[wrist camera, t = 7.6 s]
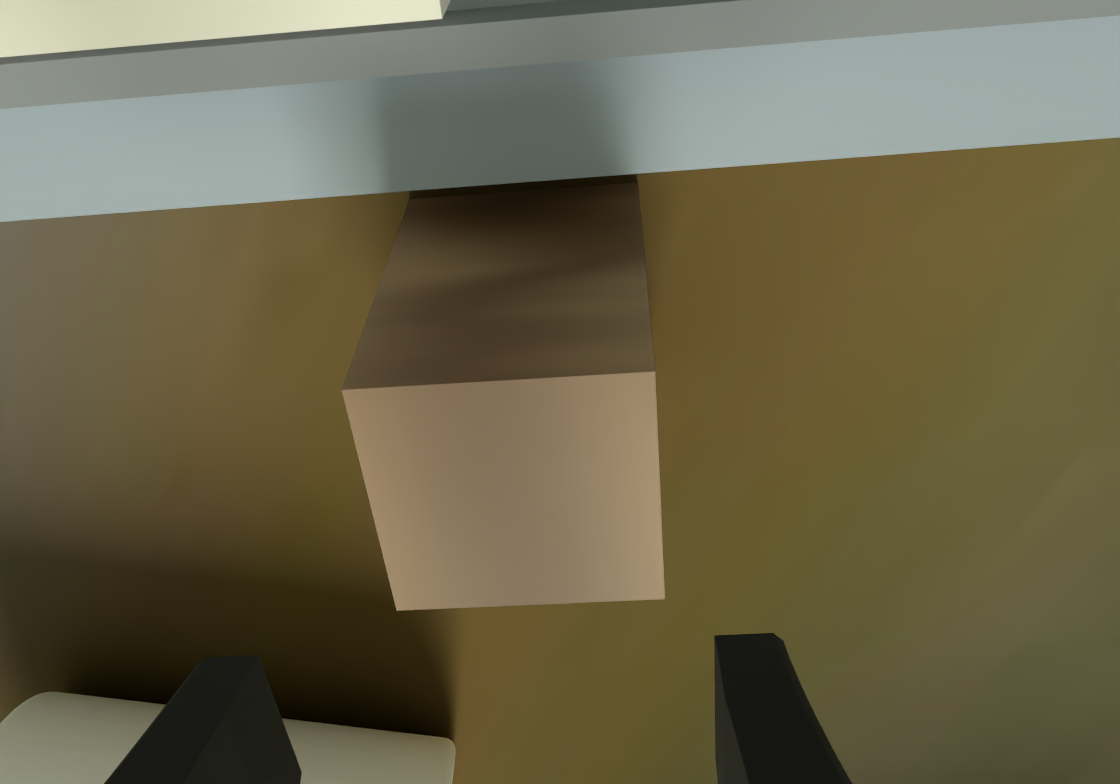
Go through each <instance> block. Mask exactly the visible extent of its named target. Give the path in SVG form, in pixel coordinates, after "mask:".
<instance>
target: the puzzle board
mask: <svg viewBox="0 0 1120 784" xmlns="http://www.w3.org/2000/svg"><path fill="white" fill-rule="evenodd" d="M1118 137H1120V0H451V1H450V3H449V5H448V7H447V10H446V12H445V14H444V16H443V18H442V19H436V20H424V21H413V22H401V23H390V24H378V25H367V26H355V27H344V28H333V29H321V30H310V31H298V32H287V33H275V34H264V35H252V36H241V37H230V38H218V39H207V40H195V41H184V42H172V43H161V44H149V45H138V46H127V47H115V48H104V49H92V50H81V51H69V52H58V53H46V54H35V55H24V56H12V57H1V58H0V222H4V221H17V220H30V219H43V218H57V217H70V216H83V215H97V214H110V213H123V212H136V211H150V210H163V209H176V208H189V207H203V206H216V205H229V204H242V203H256V202H269V201H282V200H295V199H309V198H322V197H335V196H348V195H362V194H375V193H388V192H402V191H415V190H428V189H441V188H455V187H468V186H481V185H494V184H508V183H521V182H534V181H547V180H561V179H574V178H587V177H600V176H614V175H627V174H640V173H653V172H667V171H680V170H693V169H706V168H720V167H733V166H746V165H760V164H773V163H786V162H799V161H813V160H826V159H839V158H852V157H866V156H879V155H892V154H905V153H919V152H932V151H945V150H958V149H972V148H985V147H998V146H1011V145H1025V144H1038V143H1051V142H1065V141H1078V140H1091V139H1104V138H1118Z"/></svg>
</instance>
